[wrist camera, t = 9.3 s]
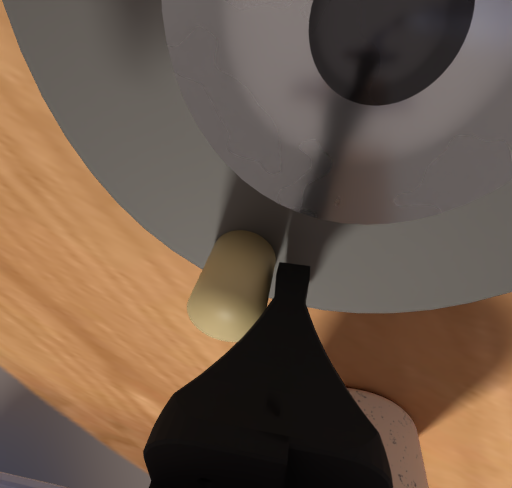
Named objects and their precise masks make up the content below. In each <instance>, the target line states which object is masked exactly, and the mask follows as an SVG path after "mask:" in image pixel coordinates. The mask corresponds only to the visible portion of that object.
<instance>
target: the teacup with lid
mask: <svg viewBox="0 0 512 488" xmlns="http://www.w3.org/2000/svg"><path fill="white" fill-rule="evenodd" d="M347 390H348V391H349V393H350V394H351V395H352V397H353V398H354V400H355V401H356V403H357V404H358V406H359V407H360V408H361V410H362V411H363V412H364V414H365V415H366V416H367V418H368V419H369V420H370V422H371V423H372V424H373V425H374V427H375V428H376V429H377V431H378V432H379V434H380V436H381V439H382V442H383V445H384V448H385V451H386V454H387V458H388V461H389V465H390V470H391V474H392V481H393V488H429V487H428V482H427V477H426V472H425V467H424V462H423V458H422V453H421V448H420V443H419V438H418V433H417V429H416V426H415V424H414V422H413V420H412V419H411V417H410V416H409V415H408V414H407V413H406V412H405V411H404V410H403V409H402V408H401V407H399V406H398V405H397V404H395V403H393V402H392V401H390V400H388V399H386V398H384V397H382V396H379V395H376V394H374V393H370V392H367V391H363V390H358V389H352V388H347Z"/></svg>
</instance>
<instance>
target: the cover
mask: <svg viewBox="0 0 512 488" xmlns="http://www.w3.org/2000/svg"><path fill="white" fill-rule="evenodd" d="M161 1H162V15H163V22H164V28H165V35H166V42H167V47H168V51H169V54H170V58H171V62H172V66H173V70H174V74H175V76H176V79H177V82H178V85H179V87H180V90H181V93H182V95H183V98H184V100H185V102H186V104H187V106H188V108H189V110H190V112H191V114H192V116H193V118H194V120H195V122H196V124H197V126H198V127H199V129H200V130H201V132H202V133H203V135H204V136H205V138H206V140H207V141H208V143H209V144H210V146H211V147H212V148H213V149H214V150H215V152H216V153H217V154H218V155H219V156H220V158H221V159H222V160H223V161H224V162H225V164H226V165H228V166H229V167H230V168H231V169H232V170H233V171H234V172H235V173H236V174H237V175H238V176H239V177H240V178H241V179H242V180H244V181H245V182H246V183H247V184H249V185H250V186H251V187H253V188H254V189H255V190H257V191H258V192H259V193H261V194H263V195H264V196H266V197H268V198H270V199H271V200H273V201H275V202H276V203H278V204H280V205H282V206H285V207H287V208H289V209H292V210H294V211H296V212H299V213H301V214H305V215H308V216H311V217H315V218H318V219H322V220H327V221H333V222H338V223H346V224H361V225H373V224H392V223H399V222H406V221H412V220H417V219H421V218H425V217H429V216H433V215H437V214H440V213H443V212H446V211H449V210H451V209H454V208H457V207H460V206H463V205H465V204H467V203H470V202H472V201H474V200H476V199H478V198H480V197H482V196H484V195H487V194H489V193H491V192H493V191H494V190H496V189H498V188H499V187H501V186H503V185H505V184H506V183H508V182H510V181H511V180H512V0H161Z"/></svg>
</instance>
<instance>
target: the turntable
mask: <svg viewBox="0 0 512 488" xmlns="http://www.w3.org/2000/svg"><path fill="white" fill-rule="evenodd" d="M2 1H3V4H4V7H5V9H6V12H7V15H8V17H9V20H10V23H11V26H12V28H13V31H14V34H15V36H16V39H17V42H18V45H19V47H20V50H21V52H22V54H23V57H24V59H25V61H26V63H27V65H28V67H29V69H30V71H31V73H32V76H33V78H34V80H35V82H36V84H37V86H38V88H39V90H40V93H41V95H42V97H43V99H44V100H45V102H46V104H47V106H48V107H49V109H50V111H51V112H52V114H53V116H54V117H55V119H56V121H57V123H58V124H59V126H60V128H61V129H62V131H63V133H64V135H65V136H66V138H67V139H68V141H69V142H70V144H71V145H72V146H73V148H74V149H75V151H76V152H77V153H78V155H79V156H80V158H81V159H82V160H83V162H84V163H85V165H86V166H87V167H88V169H89V170H90V171H91V173H92V174H93V175H94V176H95V178H96V179H97V180H98V181H99V182H100V183H101V184H102V186H103V187H104V188H105V189H106V190H107V191H108V192H109V194H110V195H111V196H112V197H113V198H114V199H115V201H116V202H117V203H118V204H119V205H120V206H121V207H122V208H123V209H124V210H126V211H127V212H128V213H129V214H130V215H131V216H132V217H133V218H134V219H135V220H136V221H137V222H138V223H139V224H140V225H141V226H142V227H143V228H144V229H146V230H147V231H148V232H150V233H151V234H152V235H153V236H155V237H156V238H157V239H158V240H160V241H161V242H162V243H164V244H165V245H166V246H167V247H169V248H170V249H171V250H173V251H174V252H176V253H177V254H179V255H180V256H182V257H184V258H185V259H187V260H188V261H190V262H191V263H193V264H195V265H196V266H198V267H199V268H201V269H203V270H202V272H201V274H200V276H199V279H198V281H197V283H196V285H195V287H194V289H193V291H192V294H191V296H190V298H189V300H188V303H187V312H188V315H189V318H190V320H191V321H192V323H193V324H194V325H195V326H196V327H197V328H198V329H199V330H200V331H202V332H203V333H205V334H206V335H208V336H210V337H212V338H215V339H218V340H221V341H227V342H238V341H239V340H240V339H241V338H242V337H243V336H244V335H245V334H246V333H247V332H248V330H249V329H250V328H251V327H252V326H253V325H254V323H255V322H256V321H257V320H258V319H259V317H260V316H261V315H262V313H263V312H264V311H265V309H266V307H267V302H268V298H272V299H273V298H274V294H275V282H276V273H277V269H278V265H279V262H283V263H291V264H298V265H306V266H310V280H309V286H308V293H307V299H306V306H307V307H310V308H315V309H321V310H328V311H339V312H350V313H401V312H413V311H424V310H433V309H438V308H444V307H450V306H456V305H461V304H467V303H472V302H475V301H479V300H483V299H487V298H491V297H494V296H498V295H502V294H506V293H510V292H512V180H511V181H510V182H508V183H506V184H505V185H503V186H501V187H499V188H498V189H496V190H494V191H493V192H491V193H489V194H487V195H484V196H482V197H480V198H478V199H476V200H474V201H472V202H470V203H467V204H465V205H463V206H460V207H457V208H454V209H451V210H449V211H446V212H443V213H440V214H437V215H433V216H429V217H425V218H421V219H417V220H412V221H406V222H399V223H392V224H373V225H361V224H346V223H338V222H333V221H327V220H322V219H318V218H315V217H311V216H308V215H305V214H301V213H299V212H296V211H294V210H292V209H289V208H287V207H285V206H282V205H280V204H278V203H276V202H275V201H273V200H271V199H270V198H268V197H266V196H264V195H263V194H261V193H259V192H258V191H257V190H255V189H254V188H253V187H251V186H250V185H249V184H247V183H246V182H245V181H244V180H242V179H241V178H240V177H239V176H238V175H237V174H236V173H235V172H234V171H233V170H232V169H231V168H230V167H229V166H228V165H226V164H225V162H224V161H223V160H222V159H221V158H220V156H219V155H218V154H217V153H216V152H215V150H214V149H213V148H212V147H211V146H210V144H209V143H208V141H207V140H206V138H205V136H204V135H203V133H202V132H201V130H200V129H199V127H198V126H197V124H196V122H195V120H194V118H193V116H192V114H191V112H190V110H189V108H188V106H187V104H186V102H185V100H184V98H183V95H182V93H181V90H180V87H179V85H178V82H177V79H176V76H175V74H174V70H173V66H172V62H171V58H170V54H169V51H168V47H167V42H166V35H165V28H164V22H163V15H162V1H161V0H2Z"/></svg>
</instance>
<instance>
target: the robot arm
mask: <svg viewBox="0 0 512 488" xmlns="http://www.w3.org/2000/svg"><path fill="white" fill-rule="evenodd" d="M309 280H310V266H306V265H298V264H291V263H283V262H279V265H278V269H277V273H276V282H275V294H274V298H273V299H272V301H271V302H270V304H269V305H268V307H267V308H266V309H265V311H264V312H263V313H262V315H261V316H260V317H259V319H258V320H257V321H256V322H255V323H254V325H253V326H252V327H251V328H250V329H249V330H248V332H247V333H246V334H245V335H244V336H243V337H242V338H241V339H240V340H239V341H238V342H237V343H236V344H235V345H234V346H233V347H232V348H231V349H230V350H229V351H228V352H227V353H226V354H225V355H224V356H222V357H221V358H220V359H219V360H218V361H216V362H215V363H214V364H213V365H212V366H210V367H209V368H208V369H207V370H206V371H204V372H203V373H202V374H201V375H199V376H198V377H197V378H195V379H194V380H192V381H191V382H189V383H188V384H187V385H185V386H184V387H182V388H181V389H180V390H178V391H177V392H175V393H174V394H173V395H172V397H171V398H170V400H169V401H168V403H167V404H166V406H165V407H164V409H163V410H162V412H161V414H160V415H159V417H158V419H157V421H156V423H155V425H154V427H153V429H152V431H151V434H150V436H149V439H148V441H147V444H146V446H145V448H144V451H143V453H144V460H145V463H146V466H147V469H148V472H149V475H150V478H151V484H150V486H149V488H393V481H392V474H391V470H390V465H389V461H388V458H387V454H386V451H385V448H384V445H383V442H382V439H381V436H380V434H379V432H378V431H377V429H376V428H375V427H374V425H373V424H372V423H371V422H370V420H369V419H368V418H367V416H366V415H365V414H364V412H363V411H362V410H361V408H360V407H359V406H358V404H357V403H356V401H355V400H354V398H353V397H352V395H351V394H350V393H349V391H348V390H347V388H346V386H345V385H344V383H343V381H342V380H341V378H340V377H339V375H338V373H337V372H336V370H335V368H334V367H333V365H332V363H331V361H330V359H329V358H328V356H327V354H326V352H325V350H324V348H323V346H322V344H321V342H320V340H319V337H318V335H317V333H316V330H315V328H314V325H313V323H312V320H311V318H310V315H309V312H308V309H307V306H306V299H307V293H308V286H309ZM0 488H67V487H64V486H59V485H55V484H50V483H46V482H42V481H38V480H33V479H29V478H25V477H20V476H16V475H11V474H8V473H3V472H0Z"/></svg>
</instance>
